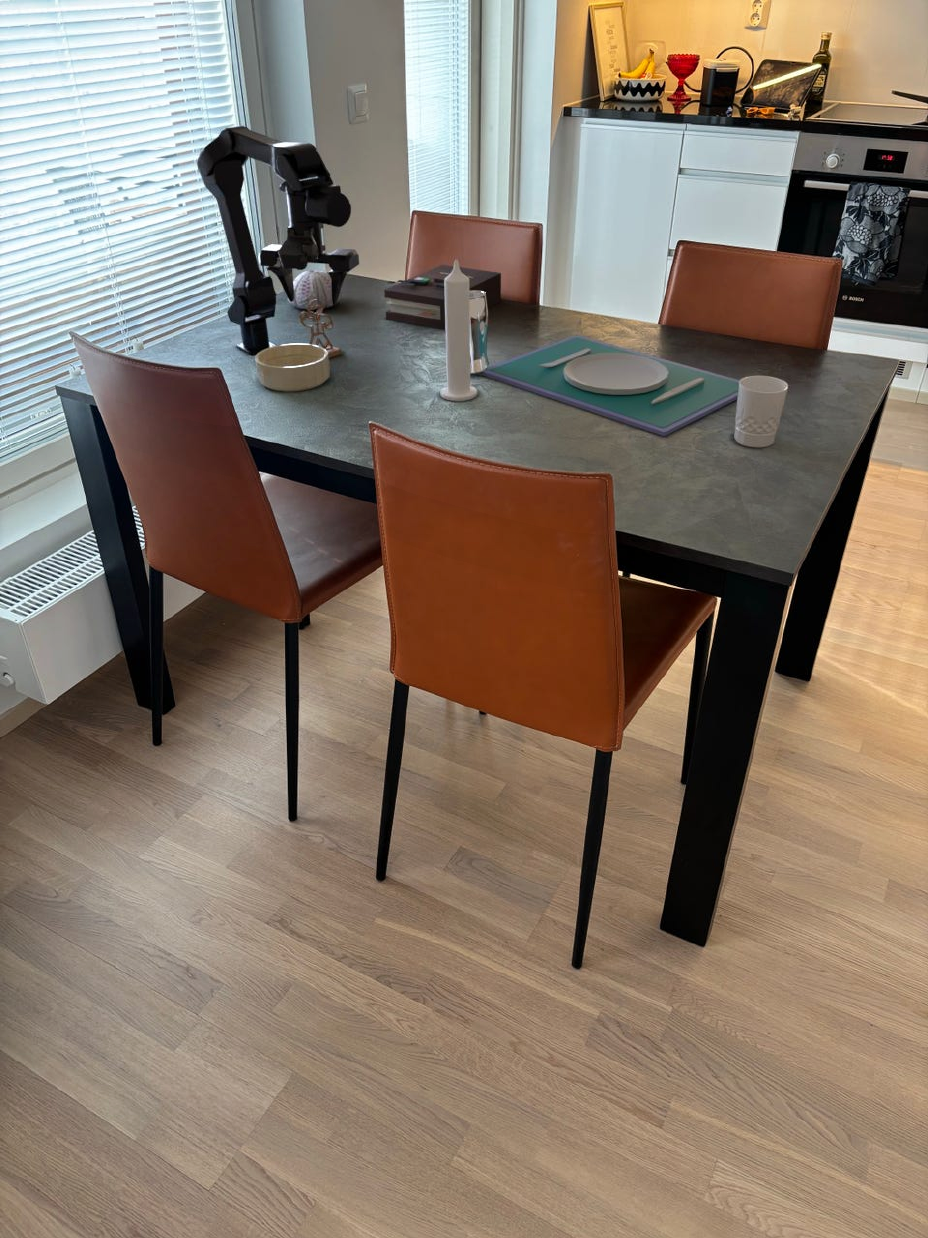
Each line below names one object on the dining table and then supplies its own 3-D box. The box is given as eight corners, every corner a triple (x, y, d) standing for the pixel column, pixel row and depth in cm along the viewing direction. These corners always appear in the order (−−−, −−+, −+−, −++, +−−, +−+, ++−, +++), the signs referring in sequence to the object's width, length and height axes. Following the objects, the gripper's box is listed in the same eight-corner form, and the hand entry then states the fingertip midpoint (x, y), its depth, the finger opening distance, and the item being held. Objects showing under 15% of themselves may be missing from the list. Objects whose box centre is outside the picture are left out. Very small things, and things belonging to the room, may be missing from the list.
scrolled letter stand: (330, 349, 203) (325, 293, 197) (342, 353, 201) (337, 296, 194) (298, 359, 198) (291, 302, 191) (309, 364, 196) (303, 306, 189)
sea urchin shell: (318, 315, 223) (315, 281, 219) (276, 307, 230) (272, 273, 225) (353, 301, 232) (351, 268, 228) (312, 293, 239) (308, 261, 234)
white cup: (724, 431, 164) (732, 376, 159) (768, 429, 165) (778, 374, 159) (739, 450, 158) (748, 393, 152) (784, 448, 158) (795, 391, 153)
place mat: (479, 373, 190) (479, 363, 188) (576, 337, 207) (576, 327, 206) (663, 436, 163) (665, 424, 162) (756, 389, 180) (758, 377, 179)
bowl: (246, 377, 190) (243, 353, 187) (308, 362, 197) (305, 338, 194) (279, 398, 181) (276, 372, 178) (343, 381, 188) (340, 356, 185)
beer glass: (488, 374, 187) (483, 297, 179) (454, 375, 189) (447, 298, 181) (494, 364, 193) (489, 289, 185) (461, 365, 194) (455, 290, 187)
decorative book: (510, 267, 228) (444, 299, 207) (509, 299, 232) (445, 333, 211) (442, 258, 236) (373, 287, 215) (443, 288, 240) (376, 320, 219)
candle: (481, 389, 182) (481, 256, 168) (470, 403, 177) (468, 266, 163) (447, 386, 184) (444, 253, 170) (435, 399, 179) (430, 263, 165)
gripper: (240, 225, 172) (252, 311, 181) (334, 231, 168) (341, 318, 177) (266, 212, 181) (276, 295, 190) (357, 217, 177) (363, 301, 186)
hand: (313, 302), depth 185 cm, fingers open, 9 cm apart
